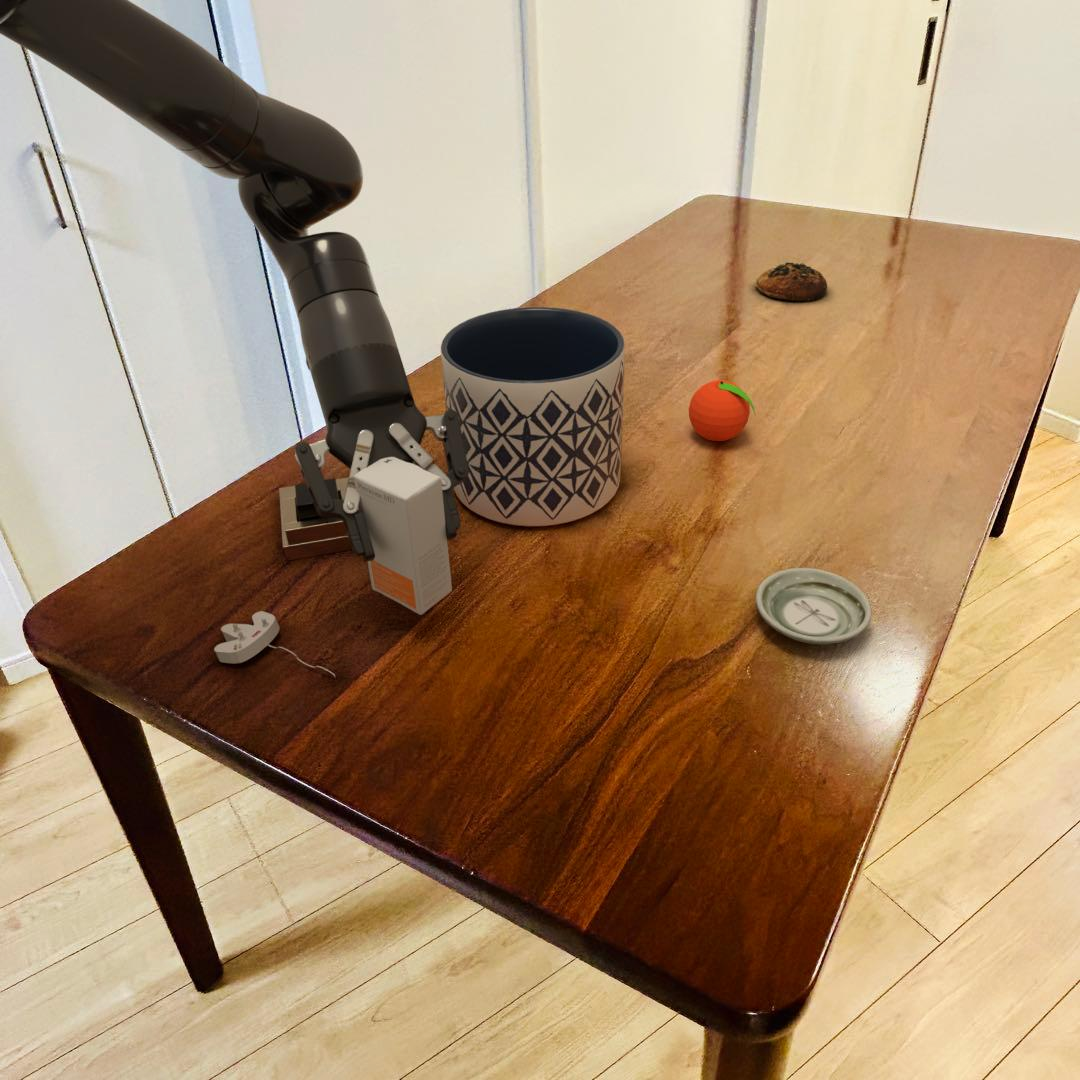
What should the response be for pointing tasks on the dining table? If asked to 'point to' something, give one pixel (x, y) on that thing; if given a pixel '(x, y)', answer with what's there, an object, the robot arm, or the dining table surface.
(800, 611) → the saucer
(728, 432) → the clementine
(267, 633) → the game controller
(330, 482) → the key
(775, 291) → the bread roll
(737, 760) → the dining table surface
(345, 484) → the keypad
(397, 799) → the dining table surface
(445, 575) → the cosmetic box
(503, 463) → the planter
